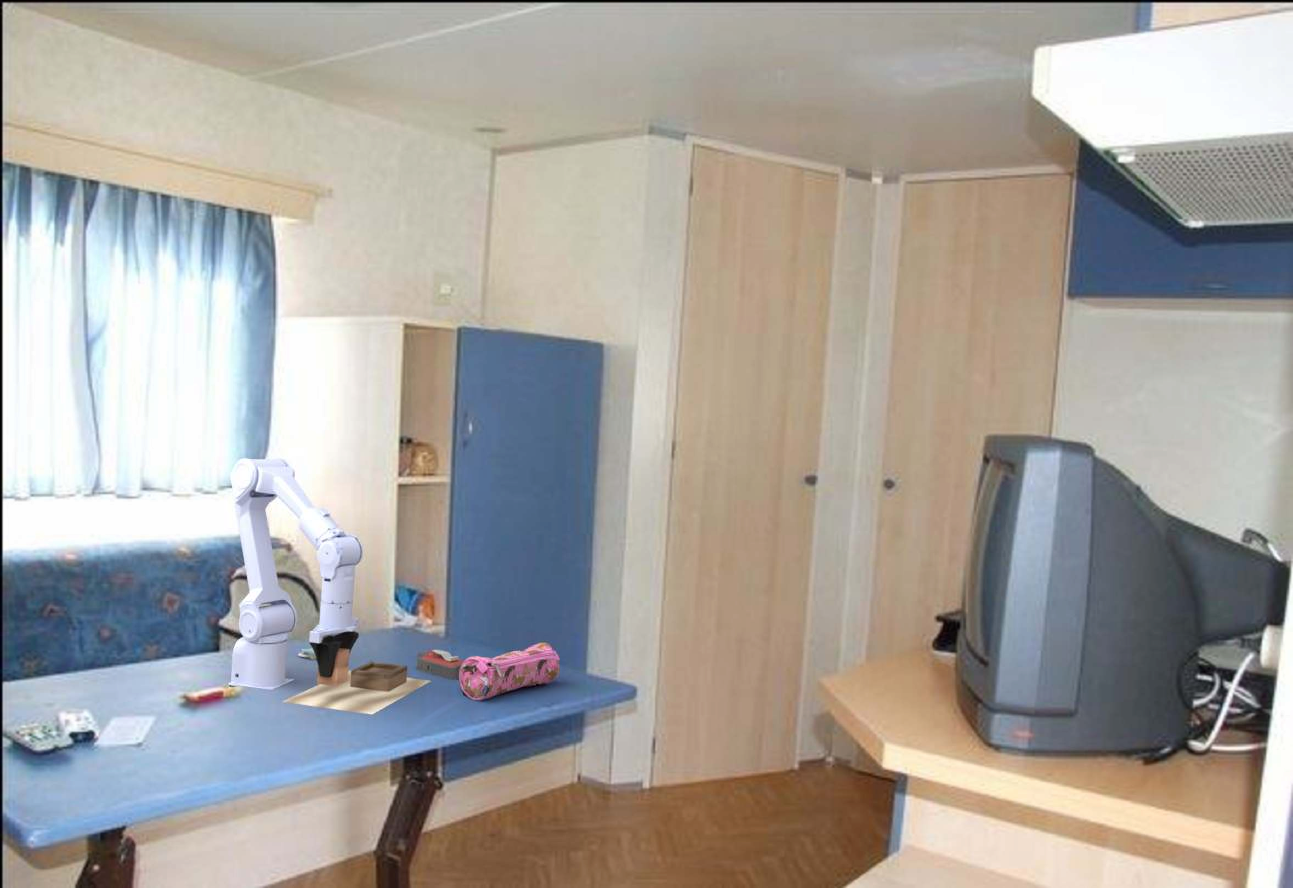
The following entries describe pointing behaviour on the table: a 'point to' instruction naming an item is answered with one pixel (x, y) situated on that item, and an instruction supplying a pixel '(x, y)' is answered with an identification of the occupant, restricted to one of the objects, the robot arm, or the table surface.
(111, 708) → the table surface
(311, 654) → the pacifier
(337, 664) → the block
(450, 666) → the grey red box
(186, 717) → the table surface
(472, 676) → the pencil case
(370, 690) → the build mat
